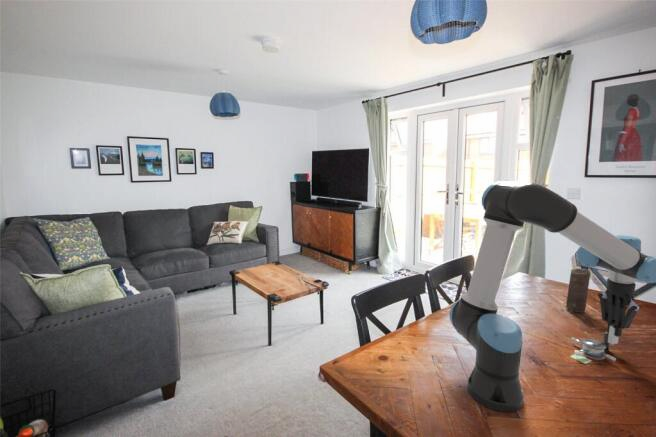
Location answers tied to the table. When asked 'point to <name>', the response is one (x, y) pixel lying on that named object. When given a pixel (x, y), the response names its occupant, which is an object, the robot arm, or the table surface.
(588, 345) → the cam capstan
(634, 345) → the table surface
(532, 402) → the table surface
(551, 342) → the table surface
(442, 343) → the table surface
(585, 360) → the stand plate
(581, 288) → the candle
